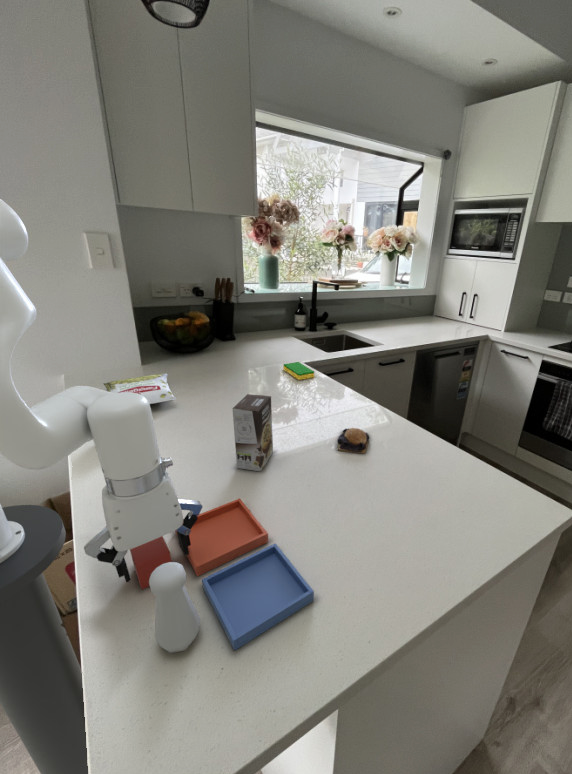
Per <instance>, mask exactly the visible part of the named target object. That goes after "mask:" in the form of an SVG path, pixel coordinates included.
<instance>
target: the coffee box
mask: <svg viewBox="0 0 572 774" xmlns="http://www.w3.org/2000/svg"><path fill="white" fill-rule="evenodd" d="M231 408H232V421H233V434H234V444H235V445H234V446H235V458H236V460H235V461H236V468H237V469H242V470H249V471H255V472H262V470H263V469H264V467H265V466H266V465H267V463H268V461H269V459H270V458H271V457H272V455H273V453H274V438H273V436H274V435H273V414H272V411H273V410H272V396H271V395H263V394H262V395H261V394H249V393H246V395H245V396H244V397H243V398H242V399H241V400H239V402H238V403H237V404H235V405H234V406H233V407H231Z"/></svg>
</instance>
